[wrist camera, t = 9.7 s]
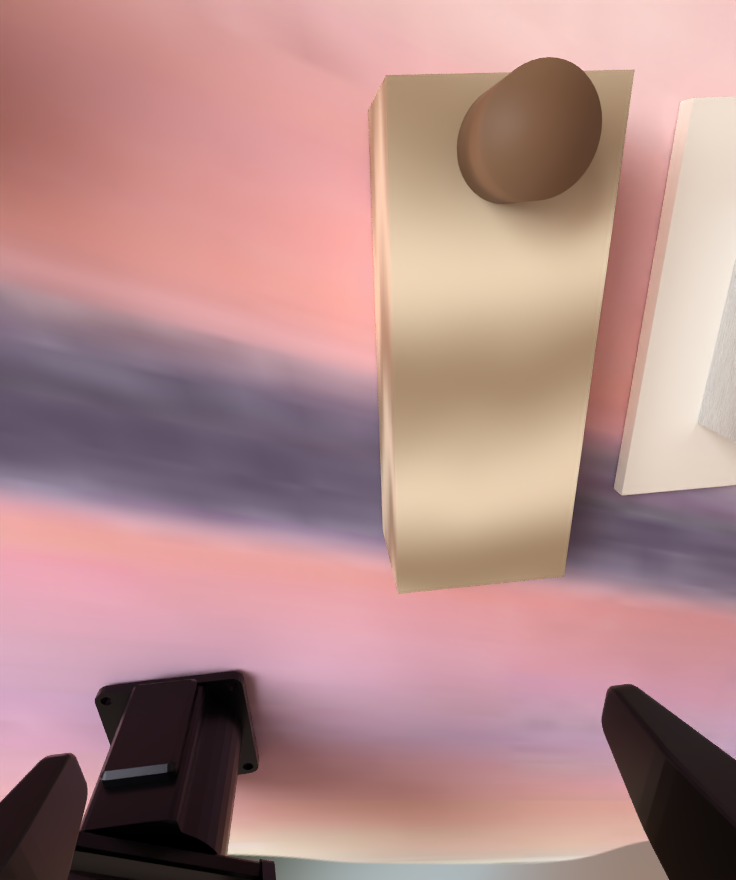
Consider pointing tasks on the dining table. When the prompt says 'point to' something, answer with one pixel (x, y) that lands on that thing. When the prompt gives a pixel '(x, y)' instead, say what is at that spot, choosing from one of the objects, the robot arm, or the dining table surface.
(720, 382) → the lever cap
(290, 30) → the dining table surface
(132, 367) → the dining table surface
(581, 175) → the body
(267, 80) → the dining table surface
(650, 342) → the board
